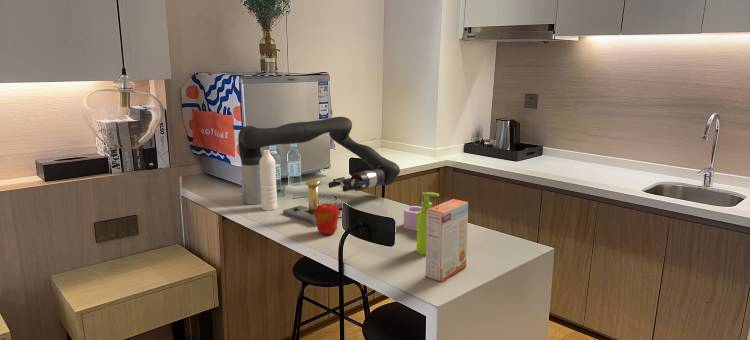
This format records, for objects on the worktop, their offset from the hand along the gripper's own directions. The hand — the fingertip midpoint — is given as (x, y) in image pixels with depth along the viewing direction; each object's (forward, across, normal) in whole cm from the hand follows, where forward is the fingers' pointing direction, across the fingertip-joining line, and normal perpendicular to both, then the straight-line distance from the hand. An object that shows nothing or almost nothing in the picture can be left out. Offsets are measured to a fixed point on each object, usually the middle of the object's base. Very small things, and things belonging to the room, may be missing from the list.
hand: (336, 187), depth 205 cm
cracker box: (+17, +67, +11) cm, 70 cm away
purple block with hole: (-9, +41, +11) cm, 43 cm away
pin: (+12, 0, +10) cm, 16 cm away
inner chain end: (+12, -4, +11) cm, 16 cm away
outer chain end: (+12, +2, +11) cm, 16 cm away
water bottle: (+16, -23, +11) cm, 30 cm away
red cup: (+19, +16, +11) cm, 27 cm away
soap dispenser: (+8, +53, +11) cm, 55 cm away
